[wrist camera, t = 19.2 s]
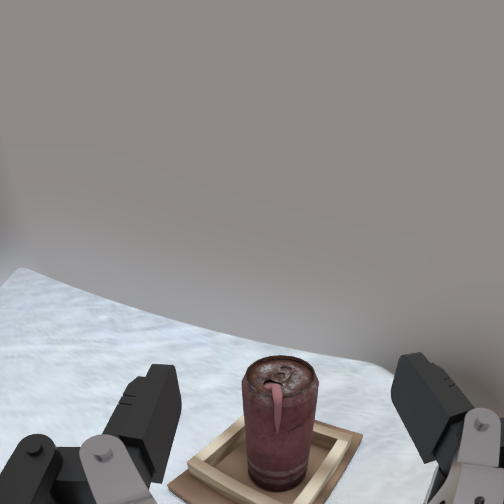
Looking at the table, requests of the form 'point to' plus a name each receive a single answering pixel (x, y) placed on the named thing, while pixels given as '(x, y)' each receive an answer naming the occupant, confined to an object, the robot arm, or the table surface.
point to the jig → (239, 482)
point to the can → (279, 420)
